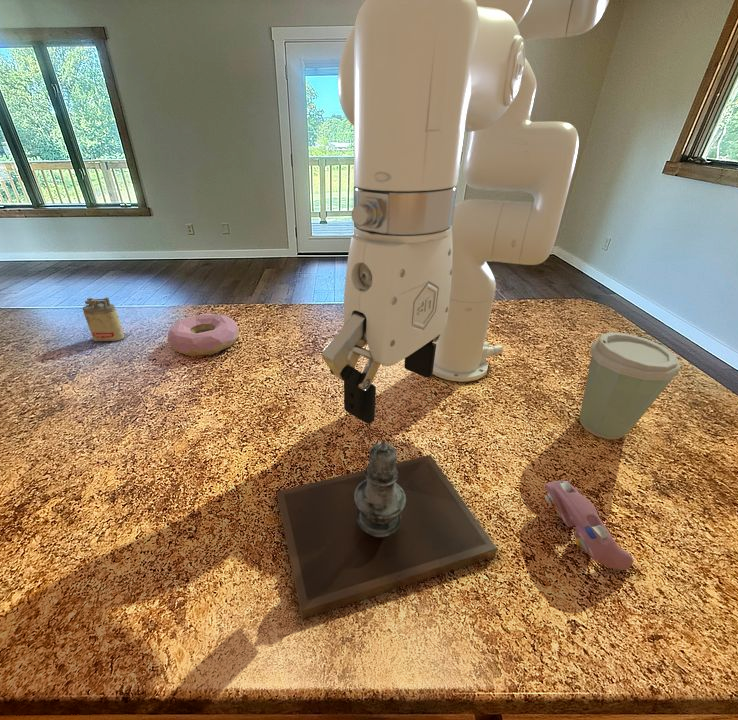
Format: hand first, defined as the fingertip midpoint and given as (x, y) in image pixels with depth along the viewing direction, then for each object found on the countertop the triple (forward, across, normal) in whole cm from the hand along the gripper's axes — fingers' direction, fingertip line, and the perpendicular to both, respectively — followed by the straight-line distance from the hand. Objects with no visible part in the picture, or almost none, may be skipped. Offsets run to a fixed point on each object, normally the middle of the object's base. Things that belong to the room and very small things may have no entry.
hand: (390, 392), depth 38 cm
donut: (+19, +9, +58) cm, 61 cm away
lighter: (+19, -5, +77) cm, 80 cm away
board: (+18, -2, -1) cm, 19 cm away
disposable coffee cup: (+20, +36, -16) cm, 44 cm away
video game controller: (+19, +13, -19) cm, 30 cm away
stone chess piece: (+17, -2, -1) cm, 17 cm away
